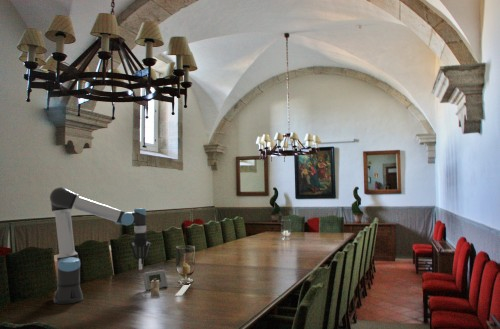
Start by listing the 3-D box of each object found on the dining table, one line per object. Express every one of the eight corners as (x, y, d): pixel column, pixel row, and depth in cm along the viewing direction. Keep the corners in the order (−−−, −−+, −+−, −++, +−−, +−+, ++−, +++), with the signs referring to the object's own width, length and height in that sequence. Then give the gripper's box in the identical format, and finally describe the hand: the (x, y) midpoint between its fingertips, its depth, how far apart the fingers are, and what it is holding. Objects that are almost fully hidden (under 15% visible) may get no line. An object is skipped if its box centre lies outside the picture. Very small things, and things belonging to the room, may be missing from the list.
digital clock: (145, 291, 252) (145, 273, 253) (140, 288, 259) (140, 271, 260) (169, 287, 261) (169, 270, 262) (164, 285, 268) (164, 268, 269)
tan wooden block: (150, 295, 241) (150, 279, 242) (152, 293, 245) (152, 278, 246) (157, 295, 241) (157, 279, 242) (159, 293, 245) (159, 278, 246)
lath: (174, 296, 238) (174, 295, 238) (185, 283, 274) (185, 282, 274) (181, 296, 238) (181, 295, 238) (191, 283, 273) (191, 282, 274)
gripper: (128, 233, 259) (128, 270, 258) (148, 232, 259) (149, 270, 257) (132, 232, 267) (132, 268, 265) (151, 231, 267) (152, 268, 265)
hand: (140, 269), depth 261 cm, fingers closed
